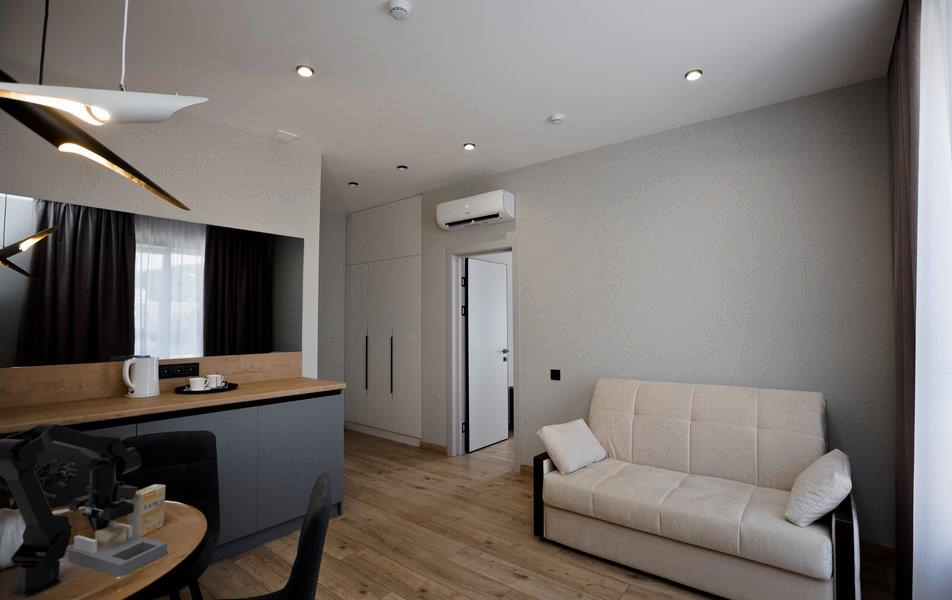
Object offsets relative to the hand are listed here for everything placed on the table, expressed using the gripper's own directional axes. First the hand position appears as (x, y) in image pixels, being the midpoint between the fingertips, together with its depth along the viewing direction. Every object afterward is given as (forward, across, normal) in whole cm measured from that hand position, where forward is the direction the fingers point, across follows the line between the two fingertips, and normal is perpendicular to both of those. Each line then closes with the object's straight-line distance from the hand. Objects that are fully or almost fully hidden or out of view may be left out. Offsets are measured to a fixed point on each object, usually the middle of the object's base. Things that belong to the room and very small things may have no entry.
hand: (100, 537), depth 126 cm
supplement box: (+4, 0, -13) cm, 14 cm away
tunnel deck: (+4, -8, 0) cm, 9 cm away
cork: (+4, +18, -15) cm, 24 cm away
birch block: (+1, -4, 0) cm, 4 cm away
